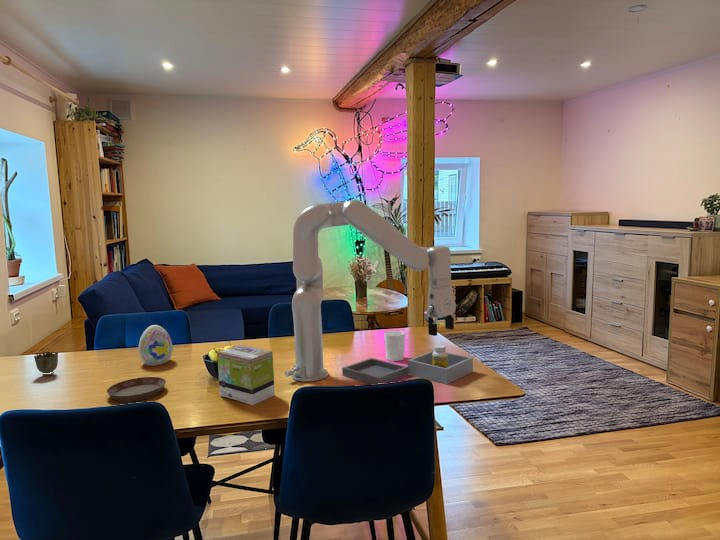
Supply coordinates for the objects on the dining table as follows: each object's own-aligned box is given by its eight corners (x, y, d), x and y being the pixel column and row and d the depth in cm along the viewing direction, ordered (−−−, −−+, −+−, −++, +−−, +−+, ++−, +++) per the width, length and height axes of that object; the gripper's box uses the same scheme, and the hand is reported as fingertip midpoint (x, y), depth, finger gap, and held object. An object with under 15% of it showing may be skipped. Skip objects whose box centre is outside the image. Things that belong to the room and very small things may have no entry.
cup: (64, 372, 189) (62, 351, 188) (47, 379, 182) (45, 357, 181) (48, 371, 191) (46, 350, 190) (31, 378, 184) (29, 356, 183)
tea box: (218, 397, 160) (215, 351, 158) (242, 387, 168) (239, 343, 166) (252, 406, 151) (250, 358, 150) (276, 395, 160) (273, 349, 158)
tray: (378, 386, 164) (378, 378, 164) (342, 375, 176) (342, 367, 176) (408, 374, 175) (407, 366, 175) (371, 365, 187) (371, 357, 187)
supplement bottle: (448, 370, 178) (448, 344, 177) (448, 375, 173) (447, 348, 172) (433, 370, 179) (432, 343, 178) (432, 375, 174) (431, 348, 173)
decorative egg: (144, 369, 189) (140, 330, 187) (136, 362, 199) (133, 325, 197) (177, 363, 196) (174, 325, 195) (168, 356, 206) (165, 320, 204)
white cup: (404, 362, 189) (403, 336, 188) (383, 361, 191) (382, 335, 190) (406, 355, 197) (406, 330, 196) (386, 355, 199) (385, 330, 197)
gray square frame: (446, 384, 165) (446, 369, 164) (407, 374, 176) (407, 360, 175) (472, 371, 176) (472, 357, 175) (435, 362, 187) (434, 349, 187)
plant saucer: (99, 395, 165) (98, 386, 165) (153, 381, 177) (152, 372, 177) (119, 409, 153) (118, 400, 152) (175, 393, 165) (175, 384, 164)
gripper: (433, 287, 163) (435, 339, 165) (463, 280, 175) (464, 328, 178) (415, 285, 168) (417, 336, 171) (445, 278, 181) (446, 325, 183)
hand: (441, 332), depth 174 cm, fingers open, 9 cm apart
